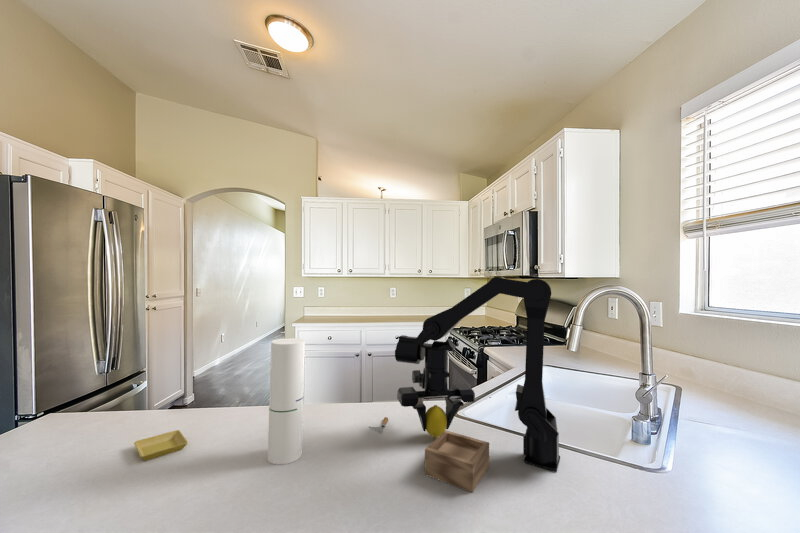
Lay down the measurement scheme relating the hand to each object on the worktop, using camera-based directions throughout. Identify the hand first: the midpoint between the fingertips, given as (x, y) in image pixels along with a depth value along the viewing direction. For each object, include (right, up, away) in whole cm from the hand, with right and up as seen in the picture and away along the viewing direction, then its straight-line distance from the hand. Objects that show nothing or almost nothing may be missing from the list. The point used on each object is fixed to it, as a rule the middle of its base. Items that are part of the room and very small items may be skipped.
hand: (435, 429), depth 81 cm
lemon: (0, -2, 0) cm, 2 cm away
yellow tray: (-63, -1, -8) cm, 63 cm away
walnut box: (+3, -2, -14) cm, 14 cm away
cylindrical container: (-34, -1, -9) cm, 35 cm away
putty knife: (-15, -3, +4) cm, 16 cm away
